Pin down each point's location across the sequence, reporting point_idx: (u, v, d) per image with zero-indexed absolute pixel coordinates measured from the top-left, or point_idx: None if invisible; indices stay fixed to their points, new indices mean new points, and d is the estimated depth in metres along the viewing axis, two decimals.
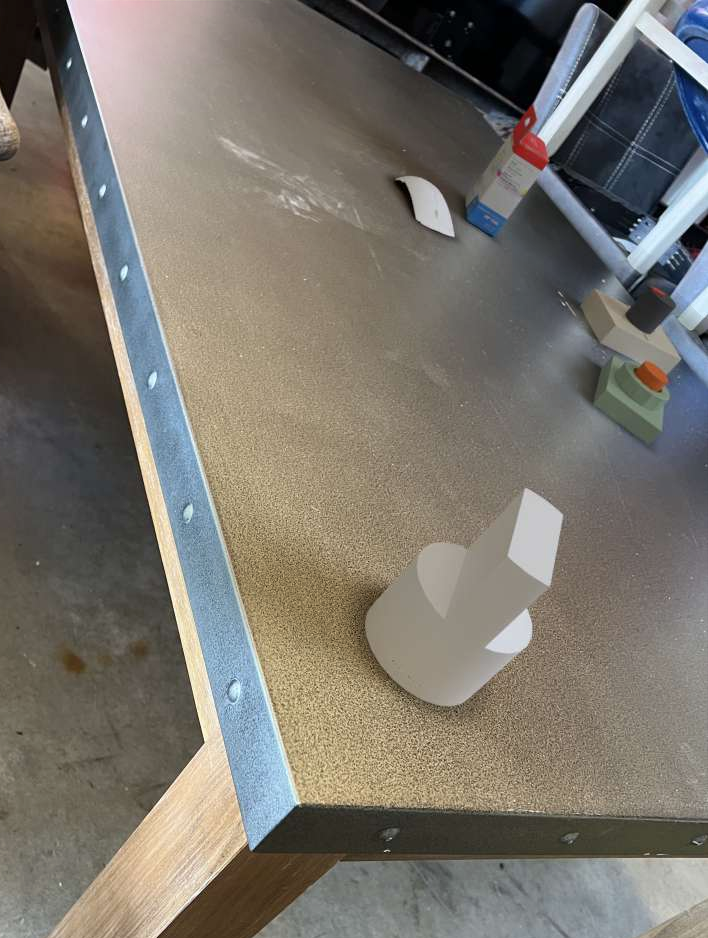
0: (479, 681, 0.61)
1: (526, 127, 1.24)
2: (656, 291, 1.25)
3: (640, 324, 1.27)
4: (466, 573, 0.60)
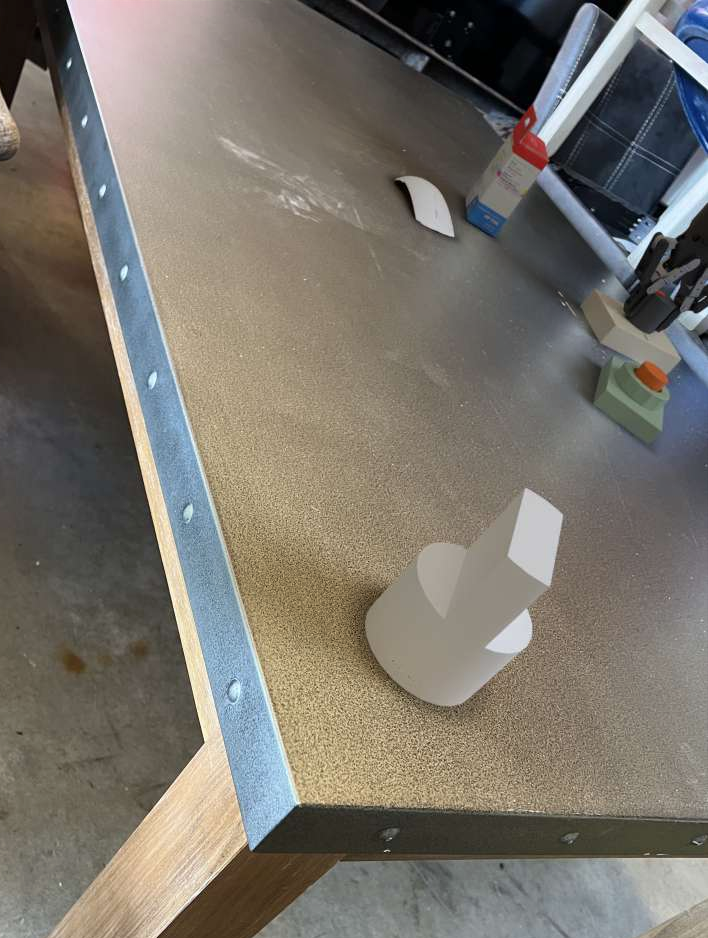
0: (479, 681, 0.61)
1: (526, 127, 1.24)
2: (656, 291, 1.25)
3: (640, 324, 1.27)
4: (466, 573, 0.60)
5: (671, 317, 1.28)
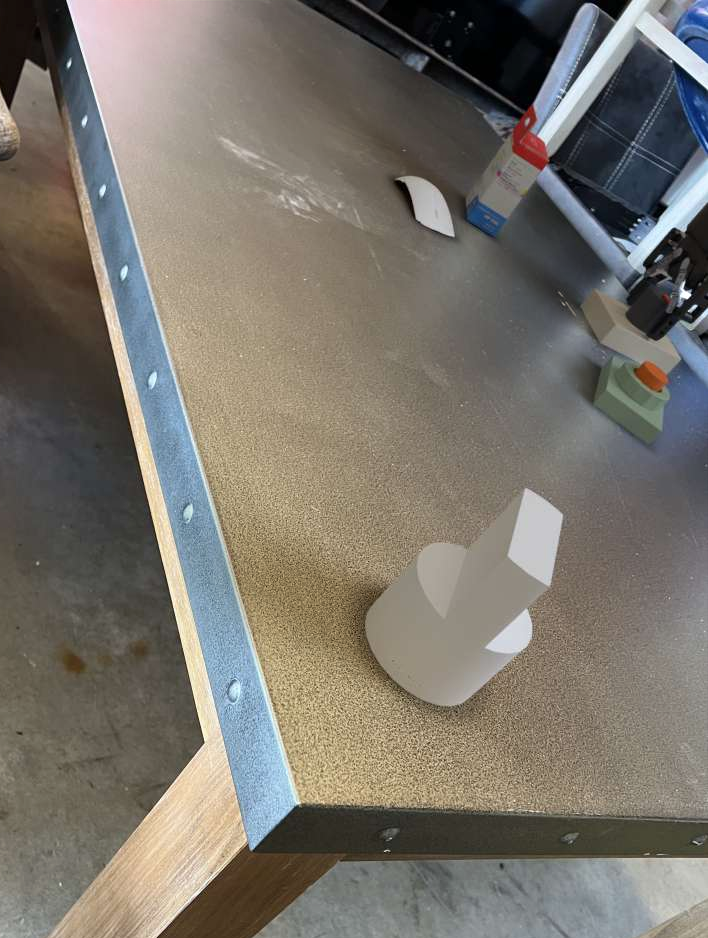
0: (479, 681, 0.61)
1: (526, 127, 1.24)
2: None
3: None
4: (466, 573, 0.60)
5: None
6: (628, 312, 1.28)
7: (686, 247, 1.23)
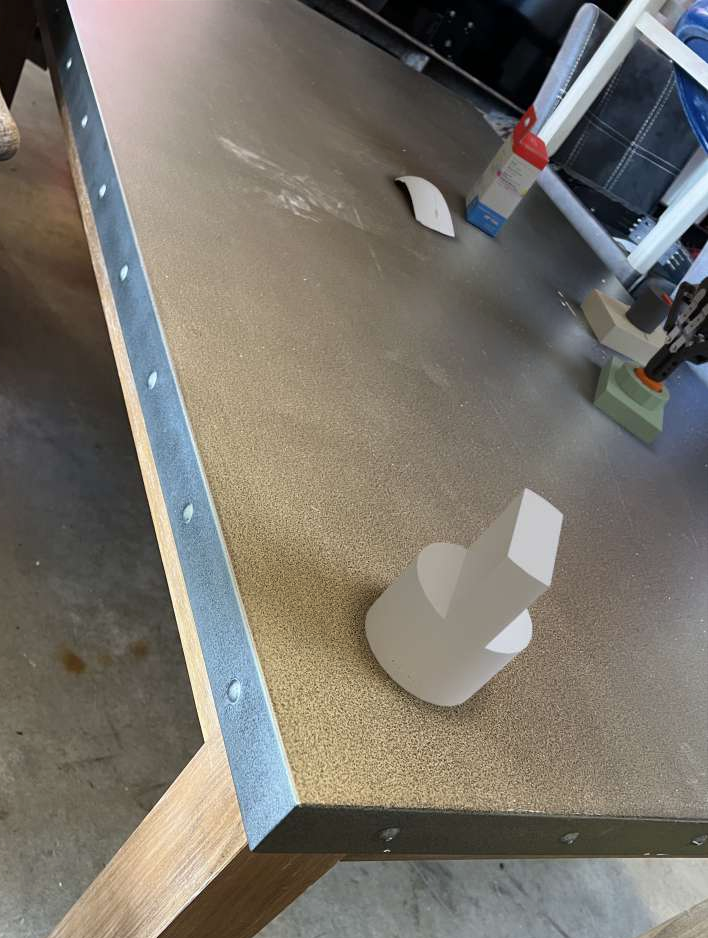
0: (479, 681, 0.61)
1: (526, 127, 1.24)
2: None
3: None
4: (466, 573, 0.60)
5: None
6: (628, 312, 1.28)
7: None
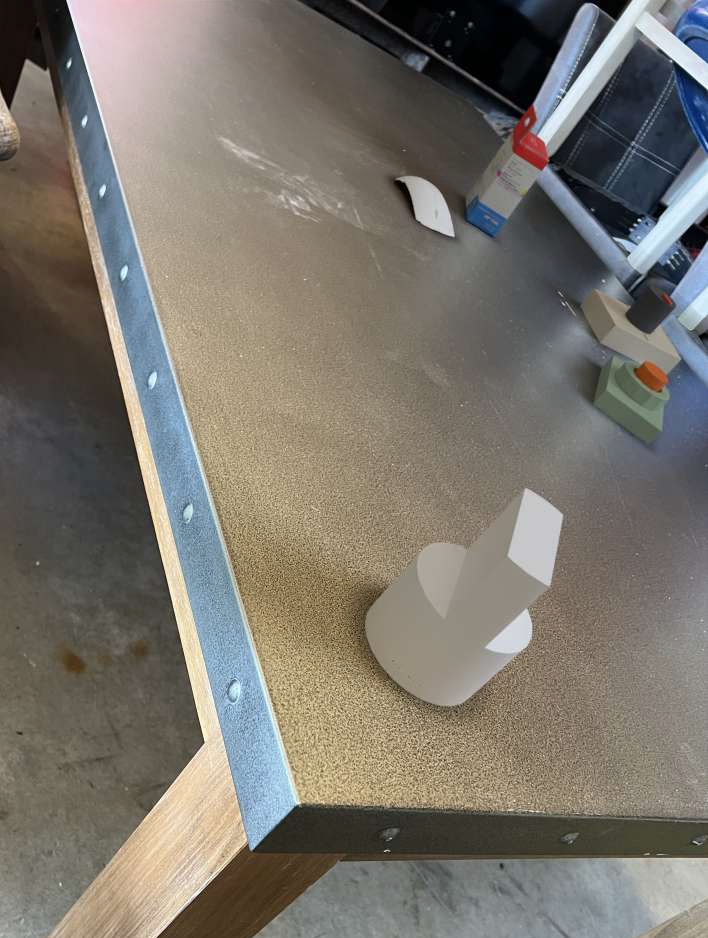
0: (479, 681, 0.61)
1: (526, 127, 1.24)
2: None
3: None
4: (466, 573, 0.60)
5: None
6: (628, 312, 1.28)
7: None
